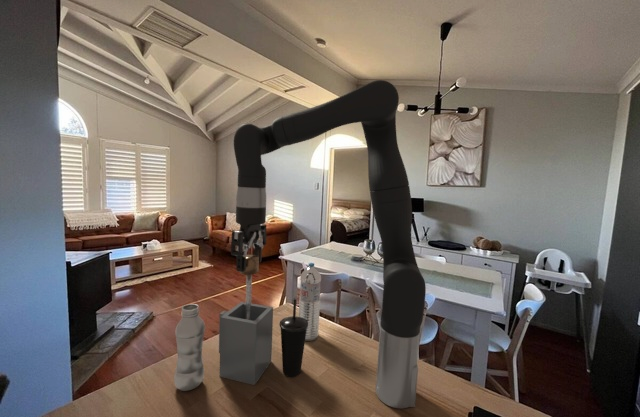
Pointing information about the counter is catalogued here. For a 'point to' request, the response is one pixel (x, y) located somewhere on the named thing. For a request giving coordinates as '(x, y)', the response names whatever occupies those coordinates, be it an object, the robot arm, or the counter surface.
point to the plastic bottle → (189, 349)
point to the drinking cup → (293, 343)
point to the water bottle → (310, 300)
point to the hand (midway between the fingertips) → (249, 266)
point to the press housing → (245, 342)
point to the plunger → (250, 280)
